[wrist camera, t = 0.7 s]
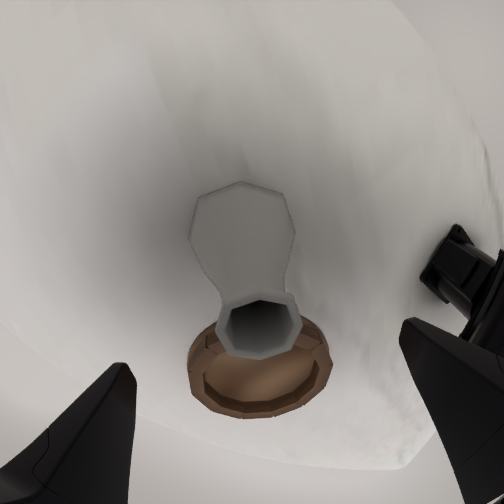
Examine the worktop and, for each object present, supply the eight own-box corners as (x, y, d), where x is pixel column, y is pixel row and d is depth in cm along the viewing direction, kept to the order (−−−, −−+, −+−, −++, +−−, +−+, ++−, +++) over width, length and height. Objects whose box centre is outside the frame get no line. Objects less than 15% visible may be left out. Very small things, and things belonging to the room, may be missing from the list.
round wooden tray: (353, 340, 24) (362, 354, 22) (274, 413, 28) (277, 428, 26) (234, 283, 20) (235, 299, 18) (166, 381, 24) (164, 397, 22)
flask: (183, 184, 17) (139, 242, 8) (295, 179, 18) (368, 229, 9) (194, 283, 20) (179, 393, 11) (292, 277, 21) (337, 379, 11)
